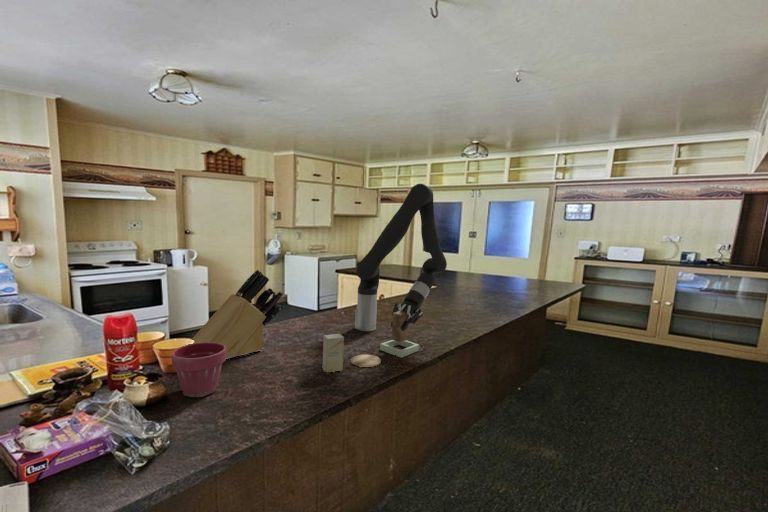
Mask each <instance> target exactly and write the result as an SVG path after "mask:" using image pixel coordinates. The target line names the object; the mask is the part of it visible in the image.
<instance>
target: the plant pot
mask: <svg viewBox="0 0 768 512" xmlns="http://www.w3.org/2000/svg"><path fill="white" fill-rule="evenodd" d="M187 344H188V343H187ZM187 344H185V345H183V346H179V347H178V348H175V349H174V350H173V351H172V352H171V366H172V368H173V369H175V371H176V375H177V378H178V379H177V380H178V382H179V386H180V389H181V391H183V392H184V393H187V394H201V393H205V392H209V391H211V390H213V389H215V388H216V387H217V388H218V386H217V385H218V384H219V381H220V377H221V371H222V368H223V363H224V362H225V361H227V360H226V347H225V346H224V345H223V344H220V343H215V342H201V343H193V344H188V345H187ZM183 392H182V393H183Z"/></svg>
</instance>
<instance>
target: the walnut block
mask: <svg viewBox="0 0 768 512" xmlns="http://www.w3.org/2000/svg"><path fill="white" fill-rule="evenodd" d="M406 317H407V313H406V312H402V311H401V312H400V311H398V312H394V313H393V315H392V321H393V326H391V340H395V341H398V342H403V341H406V340H407V341H408V337H409V336H408V335H409V326H408V327H407V328H406V330H404V331H402V330H401V329H400V328H401V326H402V324H403V323H404V321H406Z"/></svg>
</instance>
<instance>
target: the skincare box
mask: <svg viewBox="0 0 768 512" xmlns="http://www.w3.org/2000/svg"><path fill="white" fill-rule="evenodd" d="M344 342H345V336H343V335H342V334H341V333H334V334H333V333H332V334H324V335H323V341H322V343H323V344H322V367H321V368H323V369H324V370H325V371H324V370H323V369H322V370H323V371H324V373H325V372H333V373H336V372H335V371H340V372H342V371H341V370H343V369H344V347H345V346H344Z"/></svg>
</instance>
